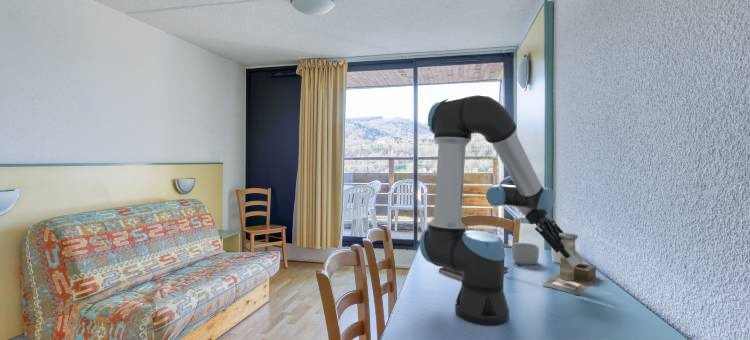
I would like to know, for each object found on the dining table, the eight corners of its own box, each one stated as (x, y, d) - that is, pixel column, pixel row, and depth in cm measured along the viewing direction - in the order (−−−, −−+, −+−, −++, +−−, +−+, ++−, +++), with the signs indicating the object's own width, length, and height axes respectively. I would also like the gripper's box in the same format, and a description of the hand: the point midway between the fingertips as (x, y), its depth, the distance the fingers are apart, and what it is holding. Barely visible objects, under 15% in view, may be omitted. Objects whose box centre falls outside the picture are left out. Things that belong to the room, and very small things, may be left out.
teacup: (543, 268, 147) (543, 249, 147) (516, 267, 147) (517, 248, 147) (529, 258, 161) (529, 241, 161) (505, 258, 161) (505, 240, 161)
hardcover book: (508, 273, 142) (508, 267, 142) (471, 285, 128) (471, 279, 128) (475, 263, 155) (475, 258, 154) (438, 273, 141) (439, 267, 141)
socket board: (579, 296, 118) (580, 281, 117) (542, 286, 126) (542, 272, 126) (600, 280, 133) (600, 267, 133) (565, 272, 142) (566, 260, 142)
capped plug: (572, 283, 122) (574, 237, 121) (555, 279, 126) (556, 234, 125) (578, 279, 126) (579, 234, 125) (561, 275, 130) (562, 232, 129)
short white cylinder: (548, 261, 158) (548, 245, 157) (564, 261, 157) (565, 246, 156) (553, 265, 151) (554, 249, 151) (571, 266, 150) (571, 250, 150)
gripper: (534, 214, 142) (578, 264, 131) (514, 219, 130) (561, 275, 119) (549, 202, 138) (595, 253, 127) (529, 206, 126) (579, 263, 115)
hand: (579, 263), depth 123 cm, fingers closed on capped plug, 4 cm apart
